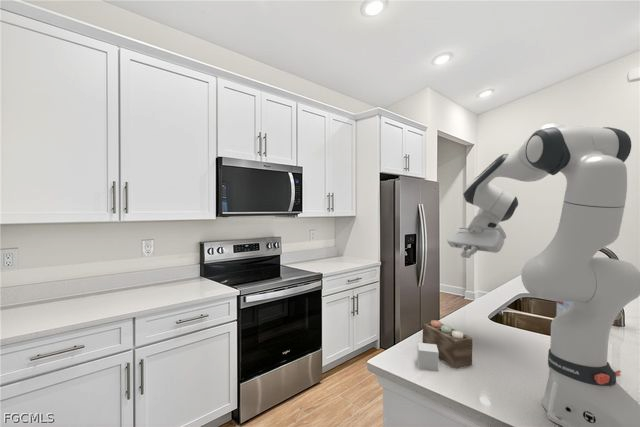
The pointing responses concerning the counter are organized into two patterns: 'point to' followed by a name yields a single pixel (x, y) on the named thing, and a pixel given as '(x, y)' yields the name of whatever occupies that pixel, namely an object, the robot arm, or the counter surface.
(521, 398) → the counter surface
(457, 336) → the cream button
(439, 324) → the terracotta button
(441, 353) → the brown wooden box
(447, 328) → the sage button
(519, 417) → the counter surface
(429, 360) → the grey cube
